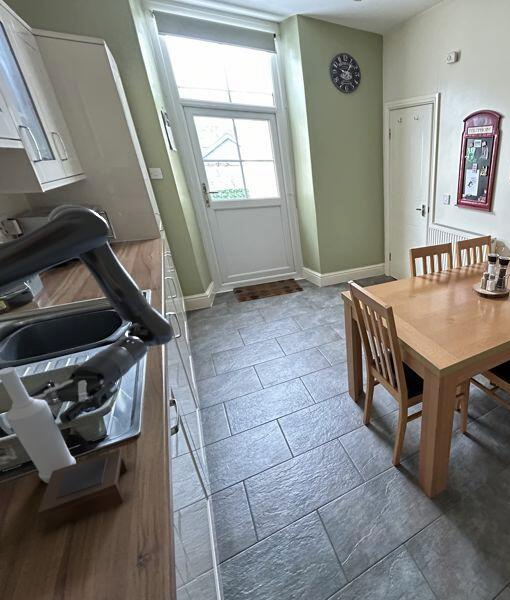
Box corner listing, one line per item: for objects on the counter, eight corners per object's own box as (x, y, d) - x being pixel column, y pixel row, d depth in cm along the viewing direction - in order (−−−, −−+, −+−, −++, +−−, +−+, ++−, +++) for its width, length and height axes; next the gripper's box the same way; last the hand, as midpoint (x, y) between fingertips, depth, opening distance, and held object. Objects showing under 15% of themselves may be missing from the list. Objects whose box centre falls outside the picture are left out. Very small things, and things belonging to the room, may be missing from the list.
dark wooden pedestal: (49, 531, 56) (37, 511, 54) (62, 489, 63) (52, 470, 61) (123, 502, 61) (115, 483, 59) (127, 466, 68) (120, 448, 66)
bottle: (74, 477, 65) (21, 374, 55) (38, 488, 63) (-25, 383, 53) (80, 457, 69) (32, 359, 59) (46, 468, 67) (-10, 366, 57)
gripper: (66, 354, 74) (-12, 404, 60) (132, 355, 75) (71, 405, 61) (78, 381, 77) (6, 435, 63) (141, 382, 78) (85, 435, 64)
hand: (38, 420), depth 62 cm, fingers open, 8 cm apart
